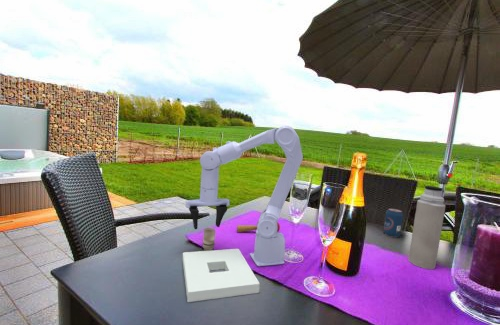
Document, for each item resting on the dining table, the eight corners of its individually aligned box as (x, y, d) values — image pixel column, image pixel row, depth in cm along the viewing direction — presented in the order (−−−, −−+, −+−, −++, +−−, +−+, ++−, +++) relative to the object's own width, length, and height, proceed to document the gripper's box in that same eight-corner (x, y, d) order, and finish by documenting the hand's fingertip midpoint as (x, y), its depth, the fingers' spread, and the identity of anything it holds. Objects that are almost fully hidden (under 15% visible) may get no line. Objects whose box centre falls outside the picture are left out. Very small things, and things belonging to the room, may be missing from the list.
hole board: (237, 255, 82) (238, 248, 82) (258, 292, 64) (259, 283, 63) (182, 260, 77) (182, 252, 76) (187, 302, 58) (188, 292, 58)
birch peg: (213, 246, 88) (214, 227, 87) (215, 251, 84) (216, 232, 83) (201, 247, 86) (202, 228, 86) (203, 252, 83) (204, 232, 82)
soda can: (379, 232, 117) (383, 207, 116) (391, 231, 119) (395, 207, 118) (391, 238, 111) (394, 212, 110) (403, 237, 112) (407, 212, 111)
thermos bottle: (410, 255, 94) (421, 183, 91) (436, 264, 88) (449, 188, 86) (406, 262, 88) (418, 185, 85) (433, 271, 83) (447, 190, 80)
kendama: (237, 239, 99) (281, 235, 100) (236, 223, 99) (280, 220, 101) (237, 235, 107) (278, 231, 108) (236, 220, 107) (277, 217, 108)
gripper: (225, 184, 88) (223, 221, 89) (184, 185, 82) (182, 224, 83) (233, 189, 82) (230, 228, 83) (189, 190, 75) (186, 232, 77)
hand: (206, 227), depth 83 cm, fingers open, 7 cm apart
